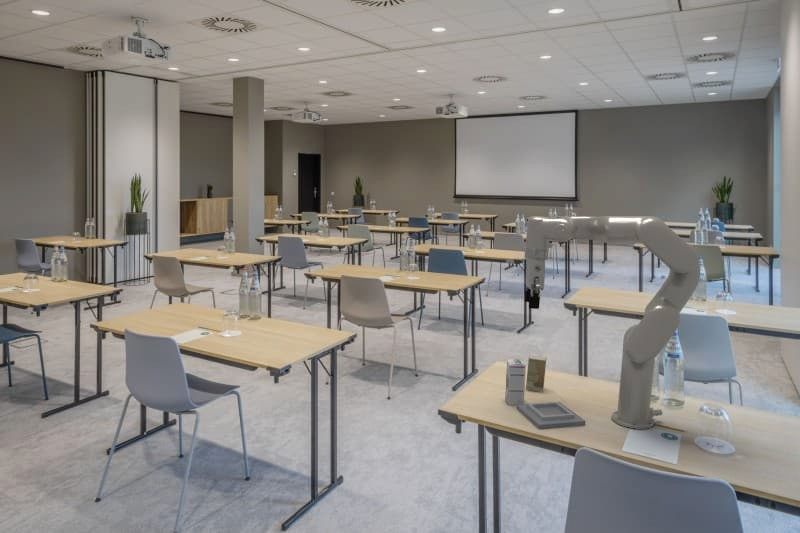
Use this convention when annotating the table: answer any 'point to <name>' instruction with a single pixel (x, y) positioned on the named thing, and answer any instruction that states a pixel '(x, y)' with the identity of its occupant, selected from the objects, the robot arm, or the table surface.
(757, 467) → the table surface
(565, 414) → the socket plate
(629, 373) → the robot arm
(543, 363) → the skincare box
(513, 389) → the syrup box
